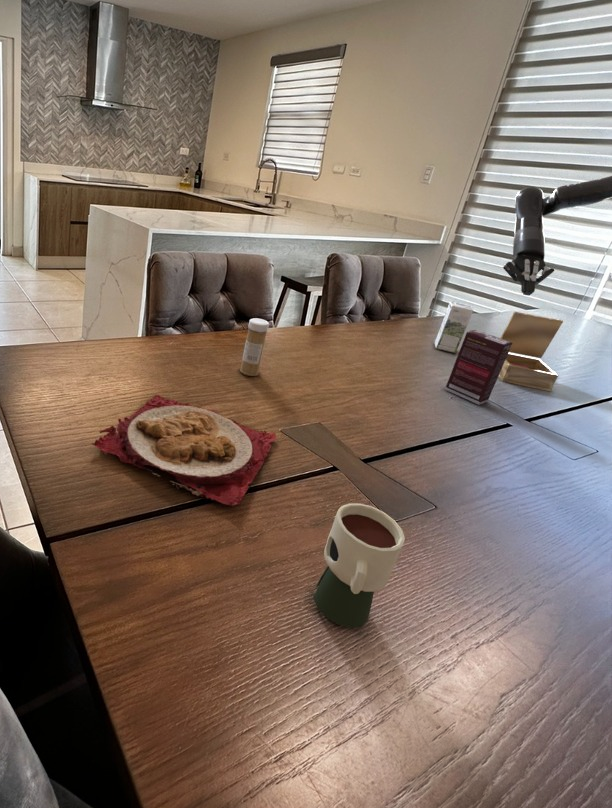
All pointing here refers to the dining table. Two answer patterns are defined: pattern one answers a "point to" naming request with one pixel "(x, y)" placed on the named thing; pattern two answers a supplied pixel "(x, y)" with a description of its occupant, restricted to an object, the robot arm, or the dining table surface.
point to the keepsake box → (527, 372)
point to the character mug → (357, 563)
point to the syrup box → (453, 327)
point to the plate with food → (191, 448)
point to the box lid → (530, 333)
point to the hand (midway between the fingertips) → (527, 293)
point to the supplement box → (478, 366)
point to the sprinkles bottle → (254, 346)
